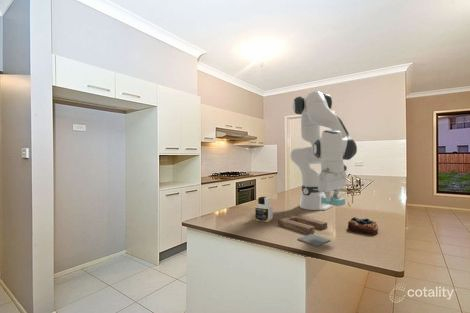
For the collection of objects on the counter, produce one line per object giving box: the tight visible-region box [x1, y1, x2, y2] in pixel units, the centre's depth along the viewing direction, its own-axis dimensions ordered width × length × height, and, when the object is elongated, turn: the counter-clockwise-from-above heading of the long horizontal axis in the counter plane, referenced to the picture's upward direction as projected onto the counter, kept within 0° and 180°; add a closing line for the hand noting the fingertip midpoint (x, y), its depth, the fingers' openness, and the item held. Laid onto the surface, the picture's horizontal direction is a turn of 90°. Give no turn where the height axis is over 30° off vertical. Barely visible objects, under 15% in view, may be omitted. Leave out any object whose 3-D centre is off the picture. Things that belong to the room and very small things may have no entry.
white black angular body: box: [254, 196, 273, 223], centre depth 127 cm, size 7×7×12 cm
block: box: [321, 195, 346, 207], centre depth 102 cm, size 5×8×2 cm, turn 37°
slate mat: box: [297, 233, 331, 247], centre depth 96 cm, size 9×9×1 cm
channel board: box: [277, 214, 328, 235], centre depth 115 cm, size 14×18×2 cm
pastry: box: [347, 216, 379, 236], centre depth 108 cm, size 11×12×6 cm
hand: (332, 199), depth 102 cm, fingers closed on block, 5 cm apart
